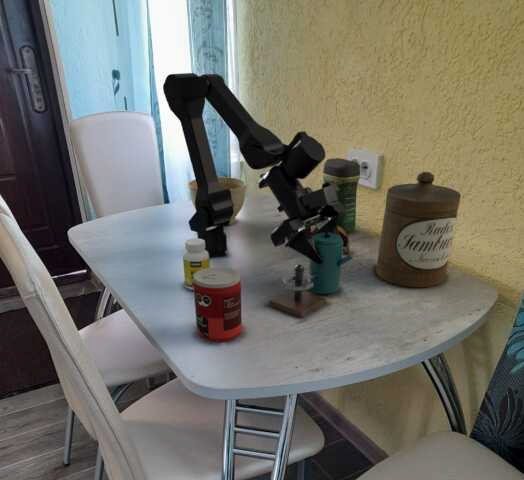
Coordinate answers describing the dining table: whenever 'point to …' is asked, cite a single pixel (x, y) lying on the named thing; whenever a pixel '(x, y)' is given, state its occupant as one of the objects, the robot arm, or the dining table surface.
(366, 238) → the dining table surface
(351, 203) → the coffee jar
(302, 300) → the wooden peg stand
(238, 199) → the planter bowl
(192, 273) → the supplement bottle
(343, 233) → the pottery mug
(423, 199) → the wooden container
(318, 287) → the kettle
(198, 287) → the canned food
